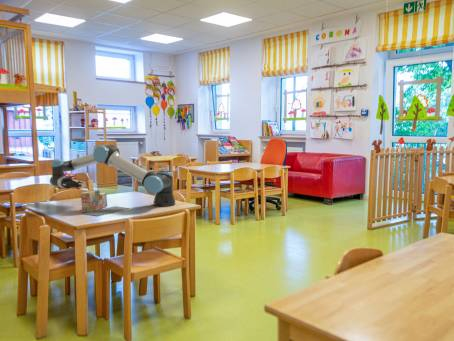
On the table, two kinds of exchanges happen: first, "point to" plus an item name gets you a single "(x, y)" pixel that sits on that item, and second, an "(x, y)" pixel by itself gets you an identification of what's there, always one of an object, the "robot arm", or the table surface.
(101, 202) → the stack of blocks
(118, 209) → the mat
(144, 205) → the table surface
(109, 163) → the robot arm
